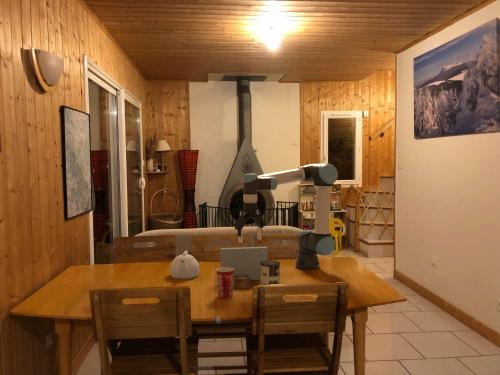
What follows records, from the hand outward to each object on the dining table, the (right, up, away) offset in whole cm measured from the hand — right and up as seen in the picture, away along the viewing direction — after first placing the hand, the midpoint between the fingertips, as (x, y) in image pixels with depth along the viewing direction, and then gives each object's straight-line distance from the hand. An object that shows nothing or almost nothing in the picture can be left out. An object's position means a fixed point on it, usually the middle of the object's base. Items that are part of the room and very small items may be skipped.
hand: (250, 240), depth 236 cm
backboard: (-3, -23, +7) cm, 24 cm away
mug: (-12, -25, -24) cm, 36 cm away
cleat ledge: (-7, -23, -2) cm, 24 cm away
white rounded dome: (-38, -22, +16) cm, 47 cm away
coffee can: (+10, -24, -11) cm, 28 cm away
